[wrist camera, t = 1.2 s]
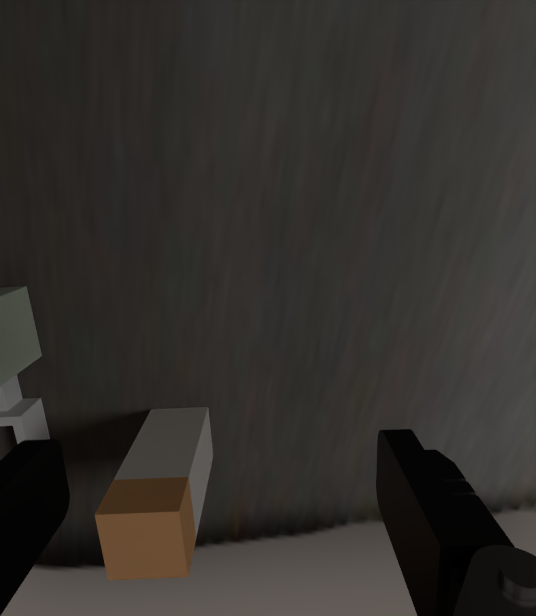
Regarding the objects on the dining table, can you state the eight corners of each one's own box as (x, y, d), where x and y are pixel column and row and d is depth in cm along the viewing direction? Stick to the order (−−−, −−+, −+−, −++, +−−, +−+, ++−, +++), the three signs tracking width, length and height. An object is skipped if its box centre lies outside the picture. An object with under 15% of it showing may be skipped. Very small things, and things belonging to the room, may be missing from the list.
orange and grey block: (151, 409, 35) (94, 514, 24) (208, 406, 35) (179, 511, 24) (158, 458, 37) (108, 580, 25) (213, 455, 37) (187, 577, 25)
